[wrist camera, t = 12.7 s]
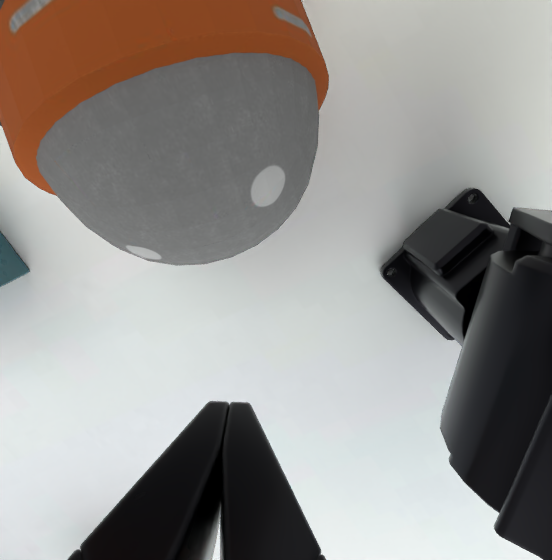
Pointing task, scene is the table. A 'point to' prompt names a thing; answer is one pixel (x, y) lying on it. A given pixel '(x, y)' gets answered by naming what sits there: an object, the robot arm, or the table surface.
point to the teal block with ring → (10, 263)
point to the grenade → (165, 117)
